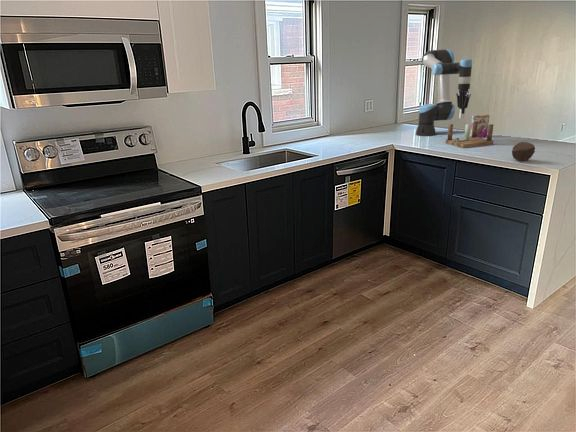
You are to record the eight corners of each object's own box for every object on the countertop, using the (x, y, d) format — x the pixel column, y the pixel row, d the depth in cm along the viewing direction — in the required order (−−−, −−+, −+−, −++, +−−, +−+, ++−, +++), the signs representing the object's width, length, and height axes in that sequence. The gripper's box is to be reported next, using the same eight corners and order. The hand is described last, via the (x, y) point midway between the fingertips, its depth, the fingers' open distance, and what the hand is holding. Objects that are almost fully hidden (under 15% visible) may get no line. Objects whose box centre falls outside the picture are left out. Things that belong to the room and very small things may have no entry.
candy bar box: (471, 138, 313) (473, 115, 308) (469, 136, 318) (471, 114, 312) (487, 137, 312) (489, 115, 306) (485, 136, 317) (487, 114, 311)
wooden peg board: (445, 143, 302) (446, 124, 297) (474, 139, 307) (476, 121, 302) (462, 148, 283) (464, 128, 279) (493, 144, 289) (495, 124, 284)
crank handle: (456, 142, 290) (457, 126, 286) (453, 141, 293) (454, 125, 289) (469, 140, 293) (471, 124, 289) (467, 139, 295) (468, 123, 292)
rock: (514, 155, 238) (507, 142, 244) (512, 166, 247) (505, 154, 252) (537, 149, 236) (530, 136, 242) (534, 160, 244) (527, 148, 250)
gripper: (453, 83, 293) (451, 117, 301) (465, 83, 281) (462, 119, 289) (463, 82, 294) (460, 116, 302) (475, 83, 282) (472, 118, 290)
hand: (461, 118), depth 296 cm, fingers closed
